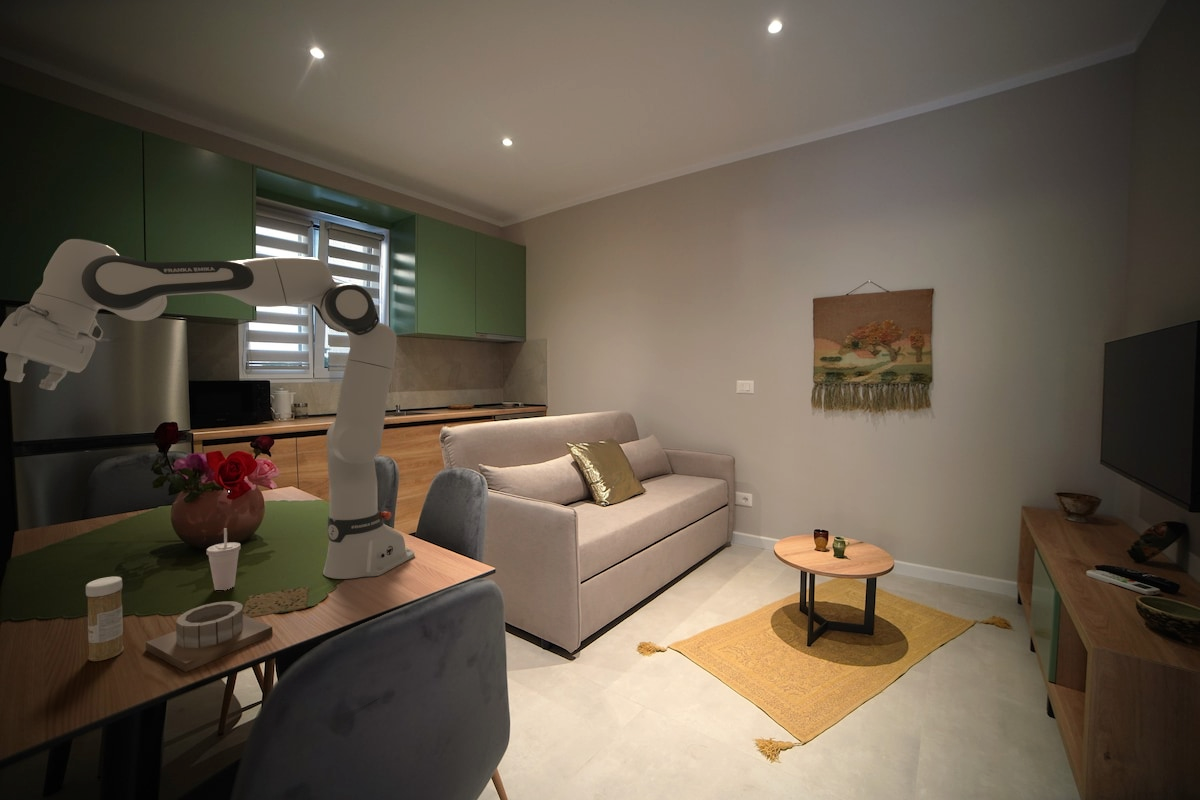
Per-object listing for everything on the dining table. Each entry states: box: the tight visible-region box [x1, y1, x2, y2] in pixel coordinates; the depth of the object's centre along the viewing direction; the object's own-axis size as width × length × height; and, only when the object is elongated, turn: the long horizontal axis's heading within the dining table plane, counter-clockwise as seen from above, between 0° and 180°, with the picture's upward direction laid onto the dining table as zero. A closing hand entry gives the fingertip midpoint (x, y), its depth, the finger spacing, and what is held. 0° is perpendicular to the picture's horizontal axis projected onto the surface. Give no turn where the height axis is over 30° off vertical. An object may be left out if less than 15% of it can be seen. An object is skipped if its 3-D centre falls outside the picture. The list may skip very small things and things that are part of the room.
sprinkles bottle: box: [85, 576, 125, 662], centre depth 88 cm, size 5×5×13 cm
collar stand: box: [145, 600, 274, 673], centre depth 93 cm, size 14×14×6 cm
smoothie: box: [206, 527, 241, 591], centre depth 116 cm, size 6×6×14 cm
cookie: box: [243, 586, 310, 619], centre depth 110 cm, size 12×12×1 cm
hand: (29, 385), depth 94 cm, fingers open, 8 cm apart
